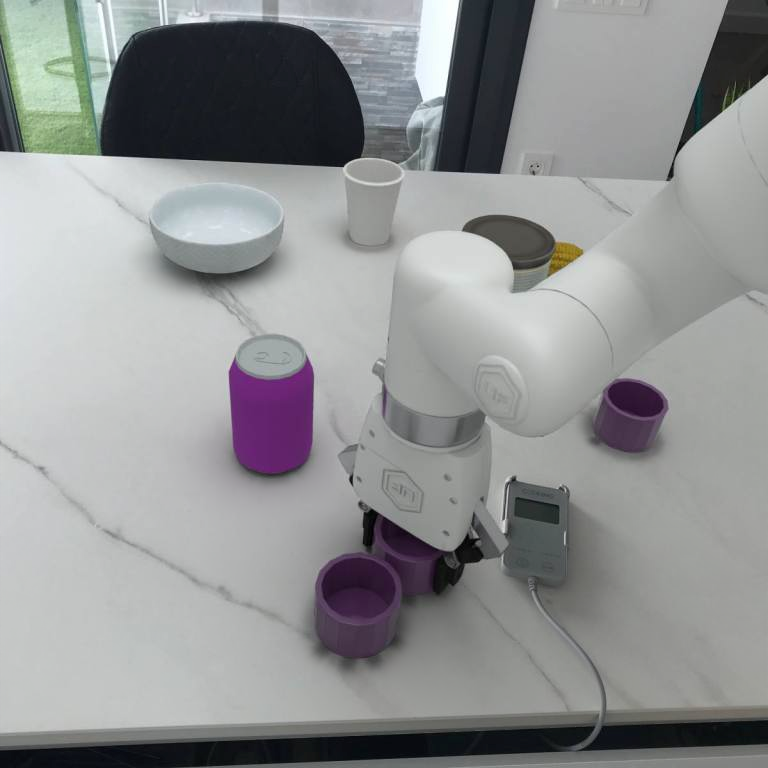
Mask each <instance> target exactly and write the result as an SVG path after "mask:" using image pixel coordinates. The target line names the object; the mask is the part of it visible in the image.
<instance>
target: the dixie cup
mask: <svg viewBox="0 0 768 768" xmlns="http://www.w3.org/2000/svg"><path fill="white" fill-rule="evenodd" d="M342 174H343V175H344V182H345V183H344V184H345V195H346V207H347V208H346V209H347V220H348V232H349V234H348V235H349V239H350V240H352V242H354V243H356V244H358V245H360V246H361V245H362V246H364V247H365V246H366V247H377V246H382V245H384V244H386V243H387V242H388V241H389V240H390V236H391V230H392V227H393V222H394V218H395V214H396V209H397V204H398V200H399V195H400V192H401V186H402V182H403V180H404V178H405V177H406V173H405V171H404V169H403V168H402V167H401V165H399V164H397V163H395V162H393V161H391V160H388V159H384V158H377V157H361V158H356V159H353V160H351V161H348V162H347V163H346V164H344V166H343V168H342Z"/></svg>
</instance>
